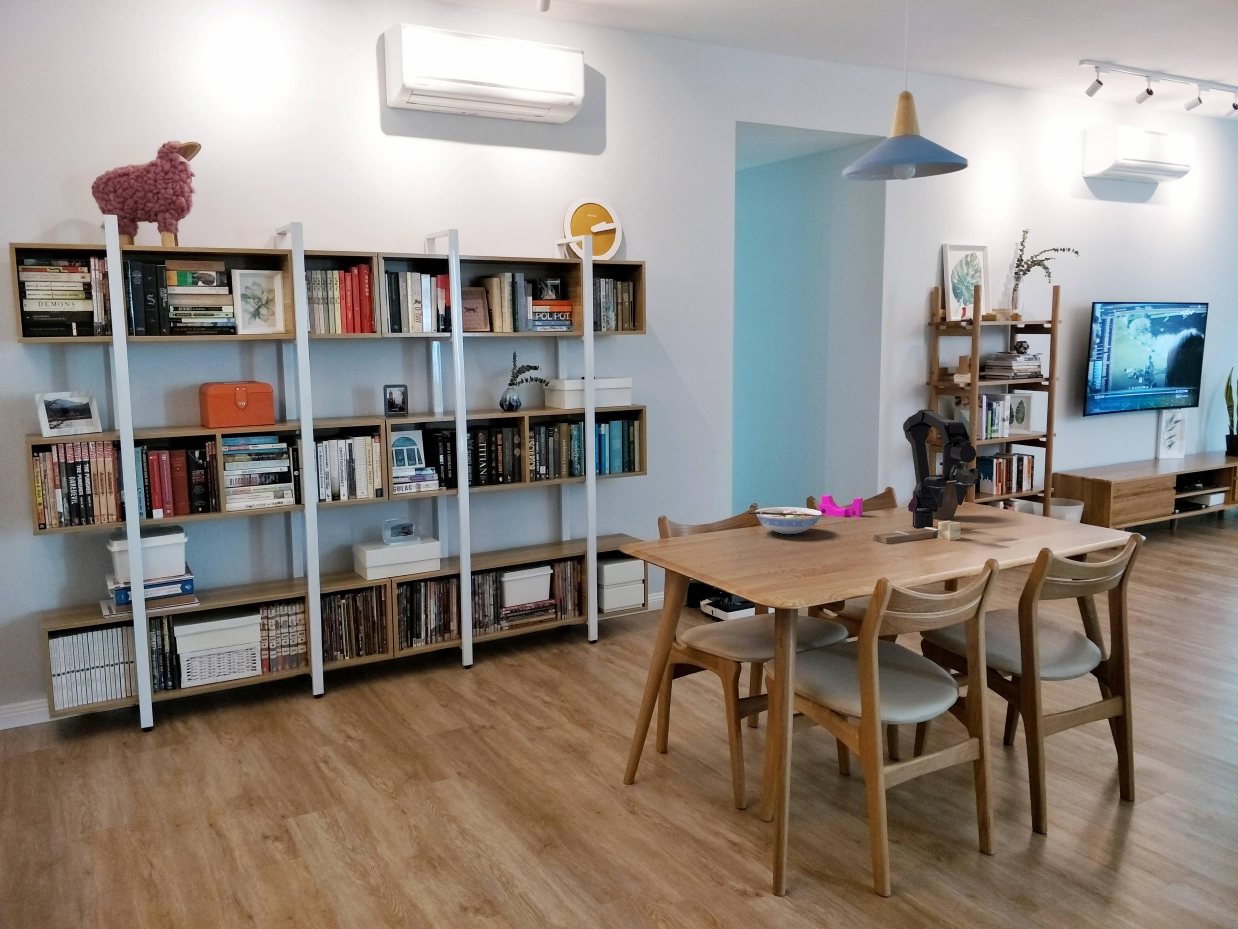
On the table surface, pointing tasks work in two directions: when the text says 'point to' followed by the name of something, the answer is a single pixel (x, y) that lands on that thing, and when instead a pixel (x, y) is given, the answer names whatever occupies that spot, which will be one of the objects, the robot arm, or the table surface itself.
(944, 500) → the plant pot
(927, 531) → the walnut plank
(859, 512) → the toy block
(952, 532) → the cream cube
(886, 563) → the table surface
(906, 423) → the robot arm
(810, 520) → the ramen bowl
